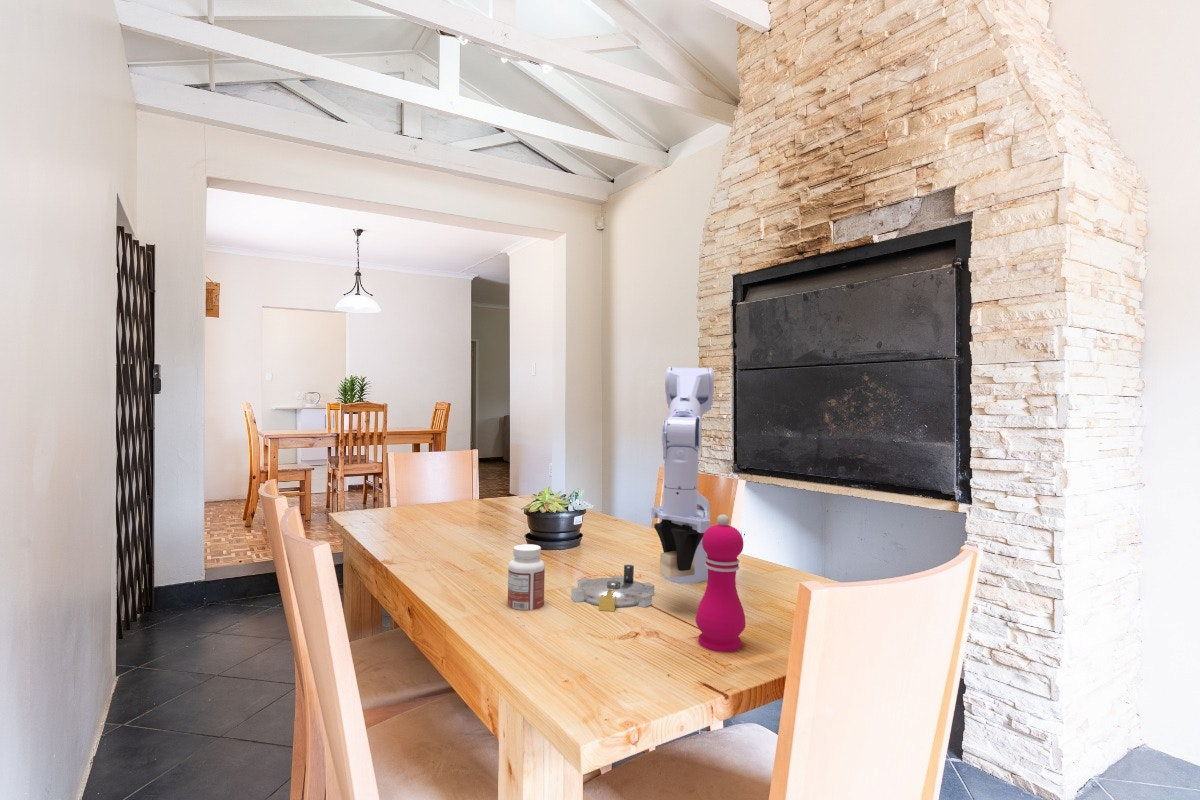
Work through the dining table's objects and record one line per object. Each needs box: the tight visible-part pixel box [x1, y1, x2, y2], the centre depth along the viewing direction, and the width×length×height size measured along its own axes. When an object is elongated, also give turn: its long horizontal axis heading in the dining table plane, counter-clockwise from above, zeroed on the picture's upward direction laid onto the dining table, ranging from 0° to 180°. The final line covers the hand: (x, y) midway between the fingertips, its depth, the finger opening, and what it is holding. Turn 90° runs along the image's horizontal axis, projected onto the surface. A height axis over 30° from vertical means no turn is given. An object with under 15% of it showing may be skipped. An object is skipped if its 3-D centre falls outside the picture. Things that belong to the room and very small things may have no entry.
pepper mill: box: [695, 513, 746, 653], centre depth 93 cm, size 7×7×20 cm
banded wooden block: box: [659, 551, 695, 578], centre depth 107 cm, size 5×3×4 cm, turn 118°
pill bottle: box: [507, 543, 546, 611], centre depth 108 cm, size 6×6×11 cm
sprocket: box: [570, 564, 655, 612], centre depth 113 cm, size 16×14×5 cm
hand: (678, 567), depth 107 cm, fingers closed on banded wooden block, 3 cm apart
